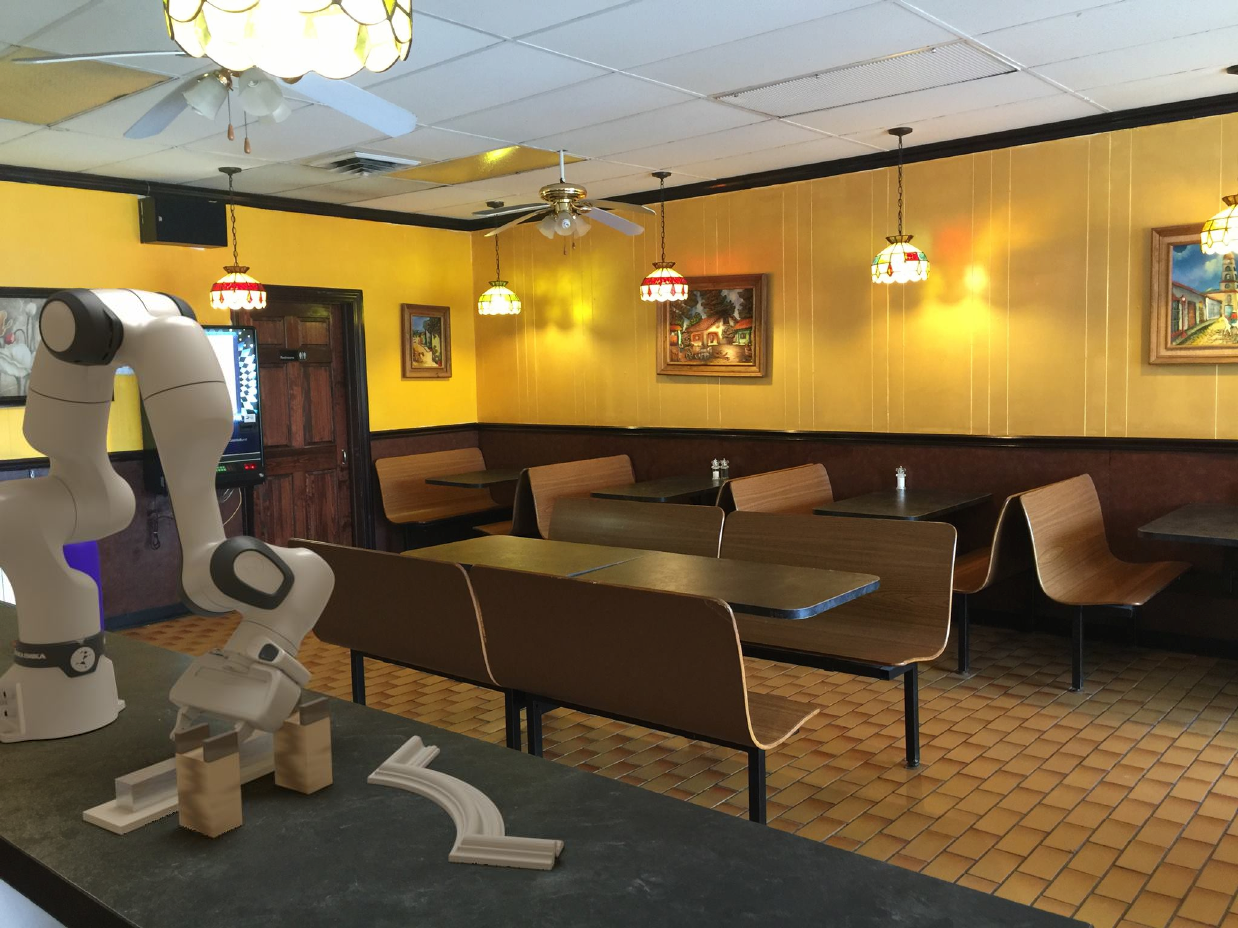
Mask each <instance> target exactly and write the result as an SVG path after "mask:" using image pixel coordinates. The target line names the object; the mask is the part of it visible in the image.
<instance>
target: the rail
mask: <svg viewBox="0 0 1238 928" xmlns="http://www.w3.org/2000/svg"><path fill="white" fill-rule="evenodd" d="M238 752H239V767H240V769H243V768H245V767H248V766H250V765H253V764H255V763H258V762H260V761H263V760H265V759H268V758H270V757H272V756H274V745H273V733H268V732H264V731H260V730H257V729H255V730H254V732H253V734H252V735H251V737H249V738H248V739H247V740H246V741H244V742H243V743H242V744H240V745H239V746H238ZM114 783H115V784H114V785H115V799H116V804H117V807H119V808H122V809H125V810H127V811H130V812H133V813H134V812H136V811H139V810H141V809H144V808H146V807H149V806H151V805H154V804H156V803H159V802H161V801H164V800H166V799H169V798H171V797H174V796H176V795H178V788H177V771H176V756H174V757H171V758H168V759H165V760H163V761H160V762H158V763H154V764H153V765H150V766H147V767H144V768H141V769H138V770H135V771H133V772H130V773H127V774H125V775H122V776H119V777H117V778H114Z"/></svg>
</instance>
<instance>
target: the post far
mask: <svg viewBox="0 0 1238 928" xmlns="http://www.w3.org/2000/svg"><path fill="white" fill-rule="evenodd" d="M302 703H303V702H302V692H301V693H300V696H299V699H298V701H297V703H296V705H295V706H294V708H293V710H292V712H291V713H290V715H289V717H288V718H287V719H286V720H283V726H282V727H281V728H279V729H278V730H277V731H275V732H274V733H273V745H274V766H275V771H274V779H275V780H274V782H275V785H276V786H280V787H282V788H283V787H284V788H287V789H290V790H293V791H297V792H299V793H303V794H307V795H310V794H312V793H314V792H317V791H319V790H321V789H323V788H325V787H327V786H330V785H331V784H333V762H332V761H333V760H332V740H331V720H330V719H331V718H330V700H329V697H326V696H322V697H319V698H317V699H313V700H311V701H308V702H306V703H303V704H302Z"/></svg>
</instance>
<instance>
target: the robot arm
mask: <svg viewBox="0 0 1238 928" xmlns="http://www.w3.org/2000/svg"><path fill="white" fill-rule="evenodd" d="M38 317H39V318H38V331H39V336H40V339H39V343H38V345H37V349H36V351H35V354H34V358H33V361H32V366H31V369H30V373H29V374H30V375H29V381H28V387H27V388H28V389H27V394H26V400H25V408H24V414H23V421H22V427H21V428H22V429H21V430H22V435H23V437H24V440H25V441H26V442H27V444H28V445H29V446H30V447H31V448H32V449H34V450H35V451H37V452H38V453H40V454H42V455H44V456H45V457H48V458H49V464H50V465H49V466H50V467H49V471H48V474H47V475H44V476H39V477H28V478H18V479H16V478H15V479H8V480H4V481H2V480H1V481H0V569H1V570H2V572H3V573H4V575H5V577H6V578H7V580H8V582H9V584H10V587H11V588H12V589H11V590H12V593H13V596H14V602H15V608H16V614H17V615H16V616H17V624H18V637H19V638H18V639H16V640H12V643H16V644H15V645H13V646H12V648H14V651H13V653H14V656H13V662H14V663H13V664H12V665H11V666H10V667H9V669H7V671H5V673H4V674H2V676H1V677H0V741H1V742H2V743H15V742H22V741H29V740H45V739H48V740H49V739H57V738H64V737H70V736H74V735H75V736H76V735H79V734H84V733H87V732H91V731H93V730H97V729H99V728H103V727H105V726H106V725H109V724H110V723H112V722H114V721H115V720H116V719H117V718H118V716H119V712H121V711H122V710H123V709H125V708H126V703H125V700H124V699H119V697H118V689H117V684H116V678H115V676H116V675H115V670H114V665H113V661H112V660H111V659H110V658H109V657H107V656H105V653H106V637H104V636H105V630H104V631H103V630H102V629H101V628H100V612H99V596H98V587H97V584H96V583H95V581H94V580H93V579H92V578H91V577H90V576H89V575H87V574H85V573H83V572H81V571H78V570H76V569H73V568H70V567H69V565H68V564H67V562H66V560H65V557H64V554H63V546H64V545H70V544H76V543H82V542H88V541H93V540H96V541H99V540H102V539H104V538H106V537H108V536H111V535H114V534H116V533H119V532H121V531H123V530H125V529H126V528H128V527H129V526H130V524H131V523H132V520H133V519H134V516H135V512H136V497H135V493H134V491H133V489H132V488H131V485H130V484H129V483H128V482H127V481H126V480H125V479H124V478H123V477H122V476H120V475H119V474H118V473H117V472H116V471H115V469H114V468H113V466H112V463H111V461H110V458H109V454H108V453H109V452H108V448H107V447H108V446H107V445H108V444H107V440H108V438H107V437H108V428H109V421H110V420H109V419H110V412H111V406H112V399H113V392H114V386H115V378H116V377H115V376H116V373H117V371H118V370H119V368H121V367H124V368H125V367H129V368H130V369H131V370H132V371H133V372H134V374H135V377H136V380H137V382H138V387H139V390H140V394H141V398H142V401H143V406H144V410H145V413H146V416H147V419H148V423H149V425H150V429H151V433H152V436H153V439H154V443H155V445H156V448H157V453H158V456H159V459H160V465H161V467H162V471H163V475H164V481H165V482H164V483H165V486H166V490H167V491H166V492H167V496H168V499H169V501H168V502H169V506H170V510H171V514H172V518H173V524H174V527H175V532H176V533H175V534H176V537H177V541H178V547H179V549H178V550H179V557H178V558H179V559H178V566H177V567H178V568H177V571H176V572H177V574H176V579H175V580H176V581H175V583H176V591H177V594H178V596H179V599H180V600H181V602H182V603H183V605H184V606H185V607H186V608H187V609H188V610H189V611H191V612H192V613H194V614H196V615H198V616H200V617H204V618H211V619H214V618H215V619H216V618H221V617H225V616H228V615H229V614H232V613H233V612H235V611H237V612H238V613H240V614H241V615H242V620H241V622H240V623H239V624H238V625H237V627H236V629H235V630H234V632H233V633H232V635H231V636H230V638H229V639H228V641H227V642H226V644H224V647H223V648H221V647H214V648H212V650H209V651H207V652H204V653H202V654H201V655H200V656H198V657H196V659H194V660H193V661H192V663H190V664H189V666H188V667H187V669H185V670H184V672H183V673H182V674H181V675H180V676H179V678H178V679H177V681H175V683H174V684H173V686H172V687H171V689H170V691H169V695H168V696H169V697H168V699H169V700H170V702H172V703H173V704H174V705H175V706H178V707H179V710H178V712H177V716H176V723H175V727H174V728H173V730H172V731H171V732H170V734H169V740H171V741H173V742H175V732H178V731H181V730H184V729H187V728H189V727H191V725H192V721H196V719H197V718H198V716H200V715H201V716H205V717H209V718H214V719H217V720H220V721H224V722H228V723H231V724H234V726H233V728H235V729H233V730H234V731H237V733H238V746H239V745H240V744H242V743H243V742H244V741H246V740H247V739H248V738H249V737H251V735H252V734H253V732H254V730H255V729H257V730H260V731H264V732H268V733H274V732H275V731H277V730H278V729H279V728H281V727H282V726H283V720H286V719H287V718H288V717H289V715H290V713H291V712H292V710H293V708H294V706H295V705H296V703H297V701H298V699H299V696H300V693H301V694H302V691H301V689H302V688H304V687H306V686H308V683H309V682H310V680H311V679H312V673H310V671H309V670H307V668H306V667H305V666H304V665H303V664H302V663H300V662H299V660H298V659H296V656H297V654H298V653H299V650H300V647H301V644H302V641H303V639H304V637H305V636H306V635H307V634H308V633H309V632H310V631H311V630H312V629H313V628H314V626H315V625H316V624H317V621H318V620H319V618H320V616H321V615H322V613H323V612H324V609H325V608H326V606H327V604H328V602H329V600H330V598H331V595H332V593H333V590H334V588H335V581H336V579H335V574H334V572H333V570H332V567H331V566H330V564H329V563H328V562H327V561H326V559H324V558H323V556H320V554H318V553H316V552H315V551H313V550H311V549H308V548H305V547H294V548H293V547H292V548H290V547H289V548H288V547H283V546H282V547H281V546H277V545H274V544H270V543H267V542H264V541H263V540H261V539H259V538H256V537H254V536H251V535H236V536H232V537H229V538H227V537H226V533H225V529H224V525H223V520H222V515H221V511H220V506H219V501H218V496H217V492H216V491H217V490H216V475H217V470H218V467H219V465H220V460H221V459H222V456H223V454H224V453H225V450H226V448H227V446H228V444H229V442H230V441H231V439H232V436H233V433H234V429H235V425H234V423H235V422H234V413H233V412H234V411H233V404H232V400H231V395H230V392H229V388H228V385H227V382H226V378H225V375H224V373H223V369H222V367H221V364H220V361H219V359H218V356H217V354H216V352H215V350H214V348H213V345H212V343H211V342H210V339H209V338H208V335H207V334H206V332H205V330H204V329H203V327H202V326H201V325H200V323H199V322H198V319H197V315H196V313H195V311H194V309H193V308H192V307H191V305H190V304H189V303H188V302H187V301H185V300H184V299H182V298H181V297H178V296H176V295H173V294H169V293H167V292H164V291H163V292H162V291H155V292H152V291H147V290H141V289H137V288H136V289H135V288H127V287H121V288H120V287H118V288H96V289H95V288H94V289H93V288H90V289H88V288H85V287H84V288H83V287H76V288H69V289H63V290H59V291H56V292H54V293H52V294H51V295H50V296H48V298H46V300H45V301H44V303H43V305H42V307H41V309H40V313H39V316H38Z"/></svg>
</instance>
